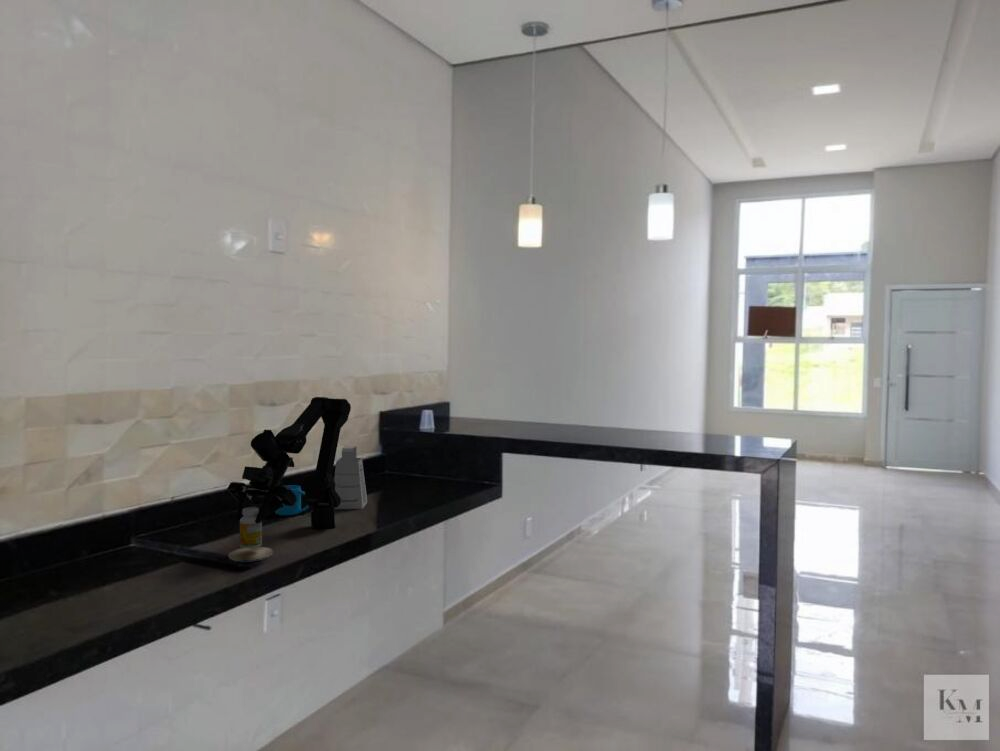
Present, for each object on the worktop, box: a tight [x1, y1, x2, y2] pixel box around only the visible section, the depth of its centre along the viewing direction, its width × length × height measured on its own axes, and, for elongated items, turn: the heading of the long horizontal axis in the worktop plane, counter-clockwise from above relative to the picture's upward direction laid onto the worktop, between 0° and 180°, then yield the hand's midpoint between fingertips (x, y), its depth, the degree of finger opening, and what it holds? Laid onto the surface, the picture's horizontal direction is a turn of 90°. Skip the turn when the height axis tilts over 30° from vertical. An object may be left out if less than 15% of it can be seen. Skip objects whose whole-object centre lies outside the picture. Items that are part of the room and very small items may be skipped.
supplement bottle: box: [239, 506, 263, 548], centre depth 189 cm, size 5×5×10 cm
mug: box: [274, 484, 310, 516], centre depth 237 cm, size 12×8×8 cm
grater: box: [333, 445, 368, 510], centre depth 248 cm, size 10×10×20 cm
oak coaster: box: [227, 546, 274, 561], centre depth 189 cm, size 11×11×1 cm
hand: (247, 521), depth 187 cm, fingers closed on supplement bottle, 5 cm apart
